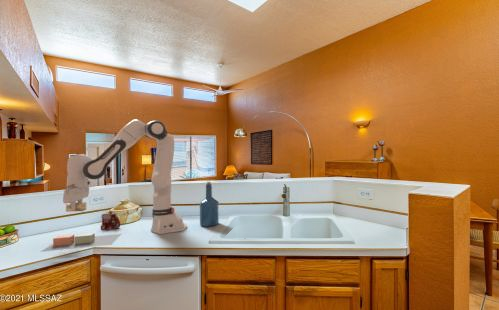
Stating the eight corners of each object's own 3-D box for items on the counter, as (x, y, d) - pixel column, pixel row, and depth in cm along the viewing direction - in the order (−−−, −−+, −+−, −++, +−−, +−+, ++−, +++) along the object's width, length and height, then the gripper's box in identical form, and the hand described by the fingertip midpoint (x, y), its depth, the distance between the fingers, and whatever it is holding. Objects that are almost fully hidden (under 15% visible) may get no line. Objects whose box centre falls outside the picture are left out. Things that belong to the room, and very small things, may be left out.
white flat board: (121, 235, 136) (121, 233, 136) (111, 246, 120) (111, 244, 120) (60, 241, 129) (60, 239, 129) (40, 253, 112) (40, 251, 112)
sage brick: (94, 239, 127) (94, 232, 127) (91, 242, 123) (91, 235, 123) (78, 241, 125) (78, 234, 125) (74, 243, 121) (74, 236, 121)
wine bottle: (203, 228, 147) (202, 183, 147) (197, 223, 159) (196, 181, 159) (222, 225, 154) (221, 182, 154) (215, 220, 166) (214, 180, 166)
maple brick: (86, 209, 126) (86, 202, 126) (82, 211, 122) (83, 203, 122) (69, 210, 124) (69, 202, 124) (65, 211, 120) (65, 204, 120)
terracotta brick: (74, 241, 125) (74, 234, 125) (70, 244, 121) (70, 237, 121) (57, 243, 123) (57, 235, 123) (53, 246, 119) (53, 238, 119)
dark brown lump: (115, 231, 145) (115, 215, 145) (98, 231, 146) (97, 215, 146) (122, 227, 151) (122, 212, 151) (106, 227, 153) (105, 212, 153)
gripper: (73, 185, 114) (73, 212, 114) (91, 181, 134) (91, 204, 133) (59, 185, 112) (58, 213, 112) (79, 181, 132) (78, 204, 132)
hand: (76, 208), depth 123 cm, fingers closed on maple brick, 4 cm apart
